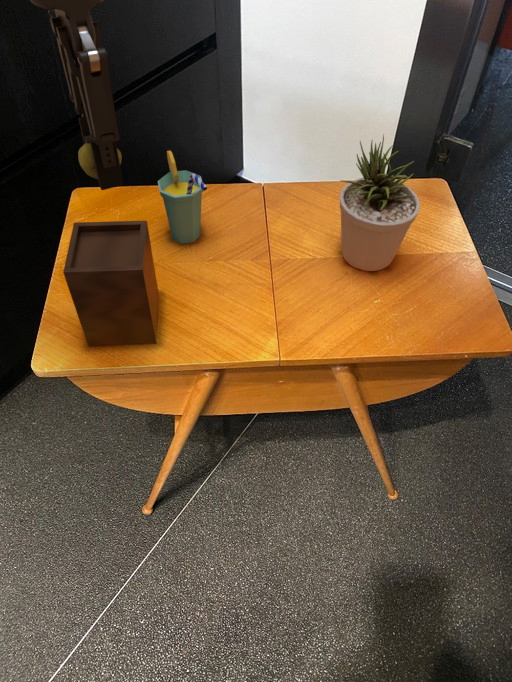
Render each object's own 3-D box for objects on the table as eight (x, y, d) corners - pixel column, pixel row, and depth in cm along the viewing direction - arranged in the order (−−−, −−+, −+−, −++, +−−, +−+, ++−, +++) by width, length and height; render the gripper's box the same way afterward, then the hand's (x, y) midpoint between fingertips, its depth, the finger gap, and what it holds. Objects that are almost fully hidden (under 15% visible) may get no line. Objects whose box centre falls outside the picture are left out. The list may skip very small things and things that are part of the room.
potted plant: (417, 245, 97) (450, 142, 82) (384, 291, 89) (414, 186, 74) (353, 220, 101) (374, 117, 86) (317, 261, 94) (332, 156, 78)
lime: (77, 176, 67) (68, 138, 63) (111, 162, 69) (104, 125, 66) (97, 192, 65) (89, 154, 61) (131, 177, 67) (125, 140, 64)
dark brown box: (88, 346, 81) (62, 272, 69) (95, 298, 87) (73, 222, 75) (156, 343, 81) (142, 269, 70) (159, 295, 88) (146, 220, 76)
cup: (228, 250, 95) (226, 175, 83) (189, 267, 92) (182, 192, 80) (186, 209, 102) (179, 135, 91) (149, 224, 99) (137, 149, 88)
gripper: (128, -26, 45) (158, 207, 63) (76, -80, 55) (115, 136, 73) (36, -15, 43) (95, 223, 61) (-1, -73, 53) (59, 148, 71)
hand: (106, 175), depth 67 cm, fingers closed on lime, 4 cm apart
